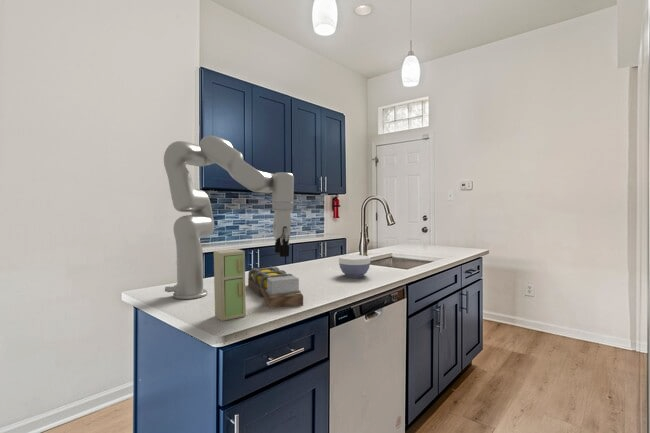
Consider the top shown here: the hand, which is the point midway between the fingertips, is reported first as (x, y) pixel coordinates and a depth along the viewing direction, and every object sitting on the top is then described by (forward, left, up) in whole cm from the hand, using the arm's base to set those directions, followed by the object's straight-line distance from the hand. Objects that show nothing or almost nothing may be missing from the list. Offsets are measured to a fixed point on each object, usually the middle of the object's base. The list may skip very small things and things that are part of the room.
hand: (281, 254), depth 125 cm
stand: (+1, 0, -18) cm, 18 cm away
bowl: (+44, +37, -18) cm, 60 cm away
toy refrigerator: (-19, -11, -18) cm, 28 cm away
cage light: (-1, +22, -18) cm, 28 cm away
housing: (0, 0, -14) cm, 14 cm away
